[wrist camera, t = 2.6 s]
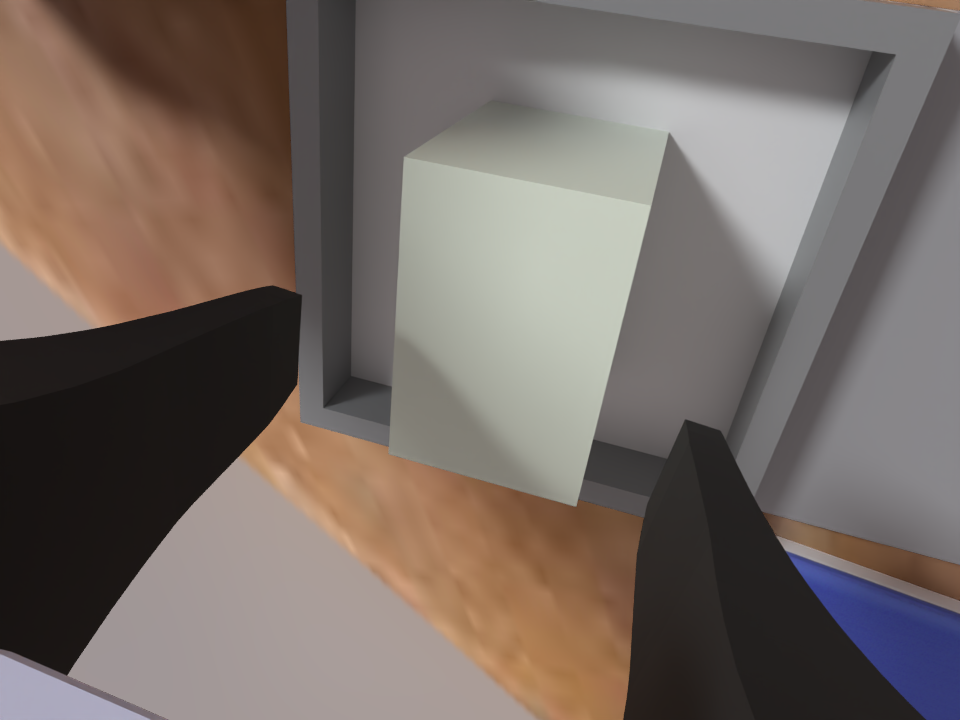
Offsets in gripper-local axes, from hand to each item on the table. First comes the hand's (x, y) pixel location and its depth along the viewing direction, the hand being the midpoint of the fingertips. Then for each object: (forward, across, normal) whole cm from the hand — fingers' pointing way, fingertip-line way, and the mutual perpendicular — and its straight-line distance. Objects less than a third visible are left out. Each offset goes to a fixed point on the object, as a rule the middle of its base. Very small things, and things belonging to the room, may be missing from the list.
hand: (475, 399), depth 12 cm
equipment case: (+8, -7, -1) cm, 11 cm away
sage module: (+8, 0, 0) cm, 8 cm away
